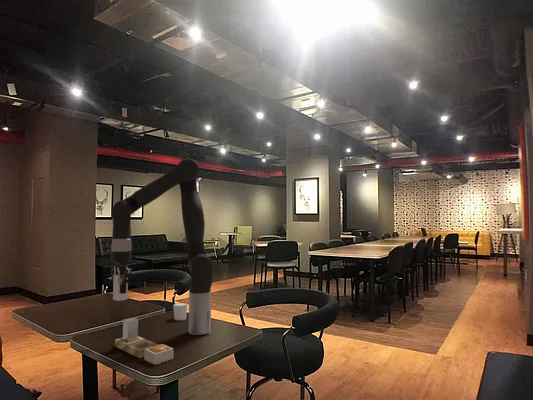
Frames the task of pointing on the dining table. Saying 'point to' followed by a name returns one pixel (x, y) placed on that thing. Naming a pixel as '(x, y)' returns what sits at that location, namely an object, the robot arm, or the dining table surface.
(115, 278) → the loose billet
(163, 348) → the button
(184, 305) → the white cup
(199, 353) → the dining table surface
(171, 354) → the button housing
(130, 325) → the seated billet
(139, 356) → the beige compartment tray
